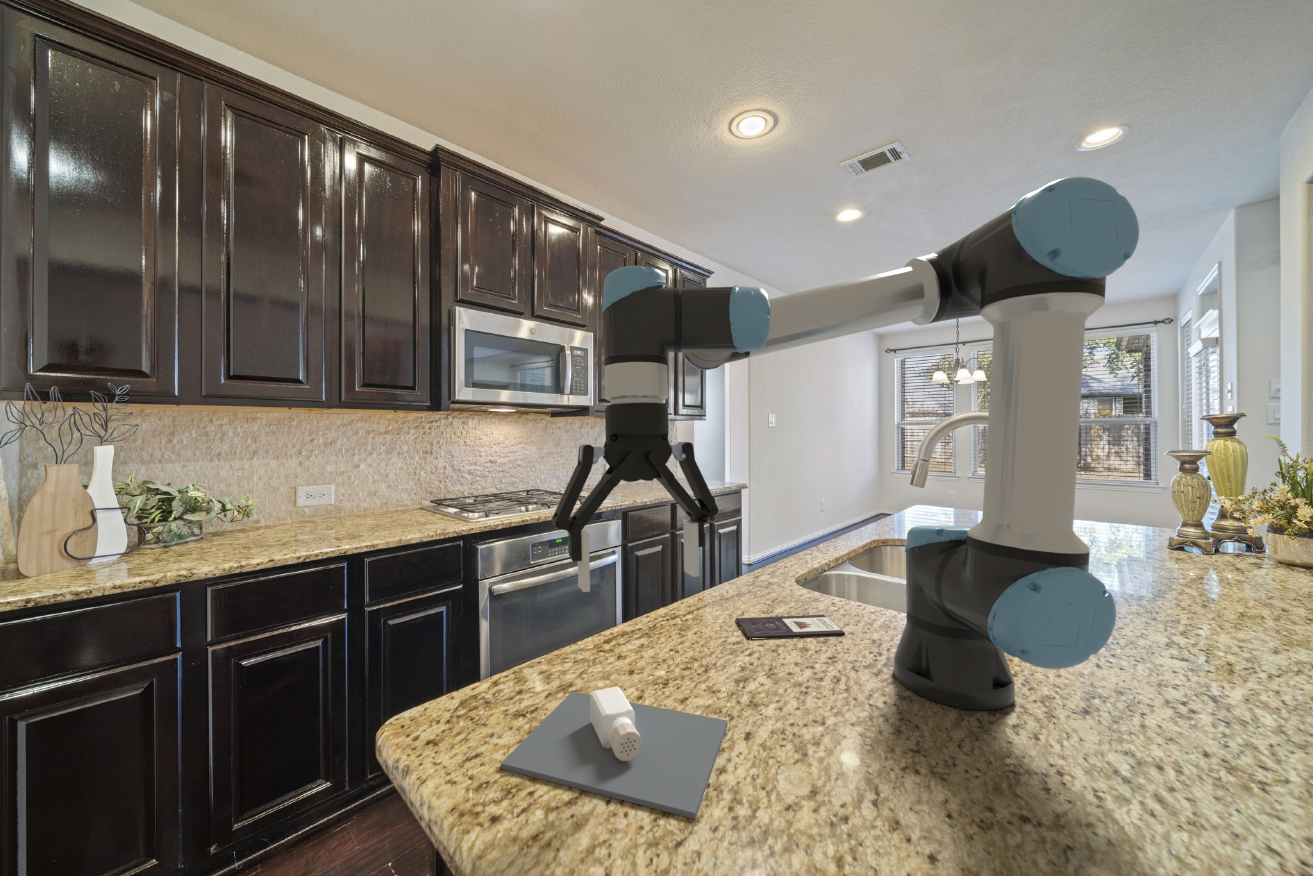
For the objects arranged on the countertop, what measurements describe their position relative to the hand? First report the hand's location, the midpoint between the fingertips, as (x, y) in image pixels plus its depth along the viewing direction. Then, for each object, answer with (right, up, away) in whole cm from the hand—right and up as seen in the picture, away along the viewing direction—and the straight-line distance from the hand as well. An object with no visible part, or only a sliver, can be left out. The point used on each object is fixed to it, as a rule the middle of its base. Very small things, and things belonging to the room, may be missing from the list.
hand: (640, 581), depth 58 cm
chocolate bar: (+27, -20, +34) cm, 48 cm away
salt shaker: (-5, -17, +4) cm, 18 cm away
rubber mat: (-2, -19, -1) cm, 19 cm away
